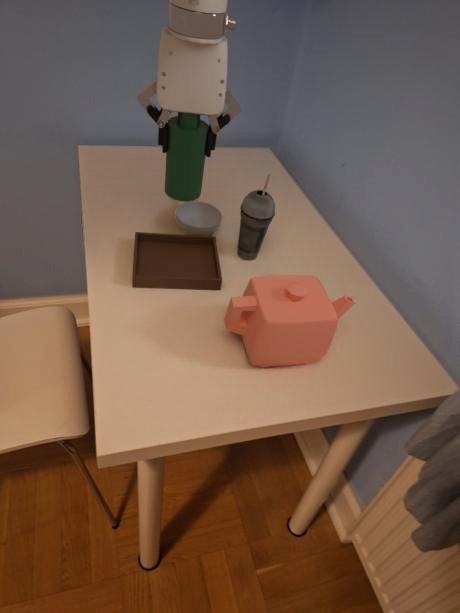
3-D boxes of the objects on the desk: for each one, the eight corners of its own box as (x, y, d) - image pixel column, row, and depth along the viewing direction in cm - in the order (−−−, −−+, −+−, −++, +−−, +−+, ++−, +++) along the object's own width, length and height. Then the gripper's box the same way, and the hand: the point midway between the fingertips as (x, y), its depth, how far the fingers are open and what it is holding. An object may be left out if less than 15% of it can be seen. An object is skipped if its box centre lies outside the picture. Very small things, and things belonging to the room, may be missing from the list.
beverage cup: (256, 243, 94) (276, 162, 80) (267, 263, 90) (291, 181, 76) (227, 245, 92) (242, 162, 78) (237, 266, 87) (256, 182, 73)
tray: (132, 287, 78) (132, 276, 76) (135, 242, 88) (135, 231, 86) (220, 290, 81) (222, 280, 79) (213, 246, 91) (215, 236, 89)
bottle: (164, 200, 69) (169, 102, 58) (164, 181, 74) (168, 87, 62) (201, 203, 71) (213, 107, 59) (199, 184, 75) (209, 92, 64)
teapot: (321, 316, 81) (347, 261, 71) (346, 368, 72) (379, 314, 62) (213, 320, 75) (225, 262, 65) (226, 377, 67) (242, 320, 57)
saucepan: (177, 240, 90) (178, 226, 88) (168, 197, 102) (169, 183, 100) (224, 240, 93) (226, 226, 90) (209, 198, 105) (211, 184, 102)
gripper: (254, 26, 59) (234, 146, 71) (131, 6, 55) (133, 136, 68) (263, 40, 53) (240, 167, 66) (128, 19, 50) (131, 157, 63)
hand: (186, 150), depth 67 cm, fingers closed on bottle, 6 cm apart
